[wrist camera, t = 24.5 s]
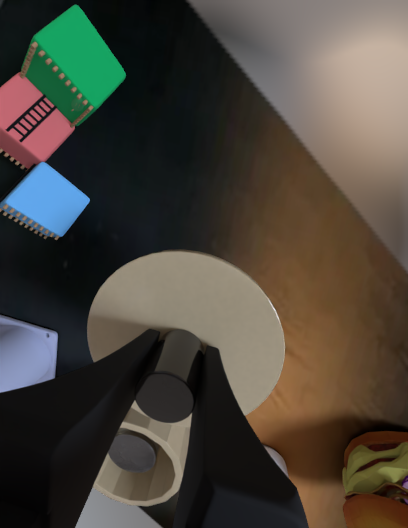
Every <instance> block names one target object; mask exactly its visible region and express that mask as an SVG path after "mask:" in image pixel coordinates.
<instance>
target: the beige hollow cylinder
mask: <svg viewBox="0 0 408 528" xmlns="http://www.w3.org/2000/svg"><path fill="white" fill-rule="evenodd" d="M120 428H126V429H130V430H133V431H136V432H139V433H142V434H144V435H146V436H147V437H149V438H150V439H152V440H153V441H155V442H156V443H157V444H159V445H160V447H159V450H158V453H157V459H156V462H155V464H154V466H153V467H152V468H151V469H150V470H148V471H146V472H143V473H133V472H129V471H126V470H123V469H122V468H120V467H118V466H117V465H116V464H115V463H114V462H113V461H112V460H111V458H110V457H109V454H107V456H106V458H105V460H104V463H103V465H102V467H101V469H100V471H99V474H98V476H97V478H96V480H95V483H94V485H93V488H95V489H96V490H98V491H99V492H101V493H102V494H104V495H105V496H107V497H109V498H110V499H113V500H116V501H119V502H123V503H125V504H128V505H136V506H151V505H155V504H158V503H162V502H165V501H167V500H168V499H169V498H170V497H172V496H173V495H174V494H175V493H176V492H178V490H179V487H180V484H181V481H182V477H183V472H184V466H185V461H186V456H187V450H188V443H189V435H190V428H188V427H179V426H174V425H169V424H166V423H162V422H159V421H156V420H153V419H151V418H149V417H147V416H145V415H143V414H141V413H139V412H137V411H136V410H134V409H133V408H130V410H129V412H128V413H127V415H126V417H125V419H124V420H123V422H122V424H121V426H120Z"/></svg>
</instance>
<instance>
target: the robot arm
mask: <svg viewBox="0 0 408 528" xmlns="http://www.w3.org/2000/svg"><path fill="white" fill-rule="evenodd" d="M159 336H160V331H157V330H154V329H148V330H146V331H145V332H143V333H142V334H141V335H139V336H138V337H136V338H135V339H134V340H132V341H131V342H129V343H127V344H126V345H124V346H123V347H121V348H120V349H118V350H116V351H115V352H113V353H111V354H109V355H108V356H106V357H104V358H102V359H100V360H98V361H96V362H94V363H92V364H90V365H88V366H86V367H83V368H81V369H78V370H76V371H73V372H70V373H68V374H65V375H63V376H60V377H57V378H55V370H56V356H57V341H58V334H57V332H55V331H53V330H49V329H46V328H43V327H39V326H36V325H33V324H29V323H26V322H23V321H19V320H16V319H13V318H10V317H6V316H3V315H0V528H75V526H76V524H77V522H78V519H79V517H80V515H81V512H82V510H83V508H84V505H85V503H86V501H87V499H88V496H89V494H90V492H91V489H92V487H93V485H94V483H95V480H96V478H97V476H98V474H99V471H100V469H101V467H102V465H103V463H104V460H105V458H106V456H107V454H108V451H109V449H110V447H111V445H112V443H113V441H114V438H115V436H116V434H117V432H118V430H119V428H120V426H121V424H122V422H123V420H124V419H125V417H126V415H127V413H128V412H129V410H130V408H131V406H132V404H133V403H134V401H135V396H134V389H135V385H136V383H137V381H138V379H139V377H140V375H141V374H142V372H143V370H144V368H145V366H146V364H147V362H148V361H149V359H150V357H151V355H152V353H153V351H154V349H155V347H156V346H157V344H158V340H159ZM172 528H309V527H308V523H307V519H306V515H305V512H304V509H303V505H302V502H301V500H300V497H299V494H298V491H297V488H296V487H295V485H294V484H293V483H292V482H291V480H290V479H289V478H288V477H287V476H286V474H285V473H284V472H283V471H282V470H281V468H280V467H279V466H278V465H277V463H276V462H275V461H274V460H273V458H272V457H271V456H270V454H269V453H268V451H267V450H266V449H265V447H264V446H263V445H262V443H261V442H260V440H259V438H258V437H257V435H256V434H255V432H254V431H253V429H252V428H251V426H250V424H249V423H248V421H247V419H246V417H245V416H244V414H243V412H242V410H241V408H240V406H239V404H238V402H237V400H236V398H235V396H234V393H233V391H232V389H231V386H230V384H229V381H228V378H227V375H226V373H225V370H224V366H223V363H222V360H221V355H220V351H219V349H218V348H216V347H212V346H209V345H207V347H206V350H205V354H204V358H203V364H202V369H201V376H200V382H199V388H198V393H197V399H196V404H195V408H194V410H193V412H192V417H191V426H190V435H189V443H188V450H187V456H186V461H185V466H184V472H183V477H182V482H181V487H180V492H179V497H178V502H177V507H176V512H175V517H174V522H173V527H172Z"/></svg>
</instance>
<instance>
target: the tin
mask: <svg viewBox="0 0 408 528" xmlns="http://www.w3.org/2000/svg"><path fill="white" fill-rule="evenodd" d="M159 447H160V445H159V444H157V443H156V442H155V441H153V440H152V439H150V438H149V437H147V436H146V435H144V434H142V433H139V432H136V431H133V430H130V429H126V428H119V430H118V432H117V434H116V436H115V438H114V441H113V443H112V445H111V447H110V449H109V451H108V454H109V457H110V458H111V460H112V461H113V462H114V463H115V464H116V465H117V466H118V467H120V468H122V469H123V470H126V471H129V472H133V473H143V472H146V471H148V470H150V469H151V468H152V467H153V466H154V464H155V462H156V459H157V453H158V450H159Z"/></svg>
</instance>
